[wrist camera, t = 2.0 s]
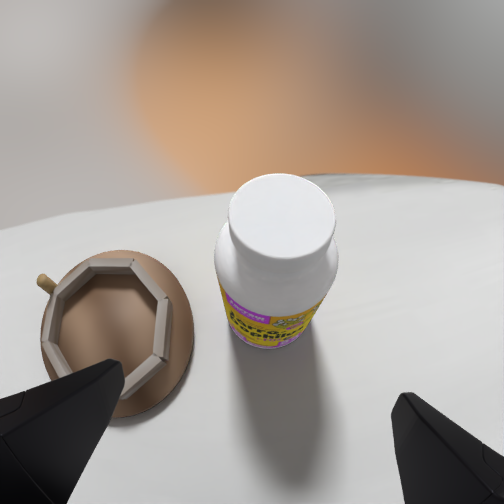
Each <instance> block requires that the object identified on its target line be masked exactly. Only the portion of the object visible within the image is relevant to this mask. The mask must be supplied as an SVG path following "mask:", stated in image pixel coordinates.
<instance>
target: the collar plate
mask: <svg viewBox="0 0 504 504" xmlns="http://www.w3.org/2000/svg"><path fill="white" fill-rule="evenodd" d="M37 285H38V286H39V287H41V288H42V289H43V290H45V291H46V292H47V293H48V294H50V299H49V301H48V303H47V306H46V308H45V311H44V315H43V319H42V325H41V339H40V341H41V351H42V357H43V361H44V364H45V367H46V370H47V372H48V374H49V377H50V379H51V380H52V381H53V380H55V379H58V378H61V377H63V376H66V375H68V374H71V373H74V372H76V371H79V370H81V369H84V368H86V367H89V366H91V365H94V364H96V363H99V362H101V361H104V360H106V359H109V358H112V359H115V360H119V361H120V362H121V363H122V367H123V372H124V377H125V385H124V388H123V391H122V393H121V395H120V398H119V400H118V403H117V405H116V408H115V410H114V413H113V415H112V417H127V416H133V415H136V414H139V413H142V412H145V411H147V410H148V409H150V408H152V407H154V406H155V405H157V404H158V403H159V402H161V401H162V400H163V399H165V398H166V397H167V396H168V395H169V394H170V392H171V391H172V390H173V389H174V388H175V386H176V385H177V384H178V382H179V381H180V379H181V377H182V375H183V374H184V372H185V370H186V367H187V365H188V362H189V360H190V356H191V352H192V347H193V339H194V323H193V316H192V311H191V307H190V304H189V301H188V299H187V296H186V294H185V292H184V290H183V288H182V286H181V285H180V283H179V281H178V280H177V278H176V277H175V276H174V275H173V273H172V272H171V271H170V270H169V269H168V268H167V267H166V266H164V265H163V264H162V263H160V262H159V261H157V260H156V259H154V258H152V257H150V256H148V255H145V254H143V253H140V252H135V251H129V250H115V251H108V252H103V253H100V254H97V255H94V256H92V257H90V258H88V259H86V260H84V261H83V262H81V263H79V264H78V265H77V266H75V267H74V268H73V269H72V270H70V271H69V272H68V273H67V274H66V275H65V276H64V277H63V279H62V280H61V281H60V282H59V284H58V285H57V284H56V283H54V282H53V281H52V280H51V279H50V278H49V277H47V276H46V275H45V274H41V275H39V276H38V278H37Z"/></svg>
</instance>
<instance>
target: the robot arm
mask: <svg viewBox="0 0 504 504" xmlns="http://www.w3.org/2000/svg"><path fill="white" fill-rule="evenodd" d="M124 385H125V377H124V372H123V367H122V363H121V362H120V361H119V360H115V359H112V358H109V359H106V360H104V361H101V362H99V363H96V364H94V365H91V366H89V367H86V368H84V369H81V370H79V371H76V372H74V373H71V374H68V375H66V376H63V377H61V378H58V379H55V380H53V381H50V382H47V383H45V384H42V385H39V386H37V387H34V388H31V389H29V390H26V392H25V391H23V392H20V393H17V394H14V395H11V396H8V397H5V398H2V399H0V504H67V502H68V500H69V498H70V496H71V494H72V492H73V490H74V488H75V486H76V484H77V482H78V480H79V478H80V476H81V474H82V472H83V470H84V468H85V467H86V465H87V463H88V461H89V459H90V457H91V455H92V453H93V452H94V450H95V448H96V446H97V444H98V442H99V440H100V439H101V437H102V435H103V433H104V431H105V429H106V428H107V426H108V424H109V422H110V420H111V417H112V415H113V413H114V410H115V408H116V405H117V403H118V400H119V398H120V395H121V393H122V391H123V388H124ZM391 420H392V428H393V437H394V447H395V455H396V460H397V465H398V469H399V474H400V479H401V485H402V490H403V496H404V501H405V504H504V457H503V456H502V455H500V454H499V453H497V452H496V451H494V450H492V449H491V448H490V447H488V446H487V445H485V444H482V442H481V441H480V440H478V439H477V438H475V437H474V436H473V435H471V434H470V433H468V432H467V431H466V430H464V429H463V428H461V427H460V426H459V425H457V424H456V423H454V422H453V421H452V420H450V419H449V418H447V417H446V416H445V415H443V414H442V413H440V412H439V411H438V410H436V409H435V408H434V407H432V406H431V405H429V404H428V403H427V402H425V401H424V400H423V399H421V398H420V397H418V396H417V395H416V394H414V393H413V392H405V393H401V394H400V395H399V397H398V399H397V401H396V403H395V406H394V408H393V410H392V413H391Z"/></svg>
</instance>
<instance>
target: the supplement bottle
mask: <svg viewBox="0 0 504 504" xmlns="http://www.w3.org/2000/svg"><path fill="white" fill-rule="evenodd" d="M335 226H336V215H335V210H334V207H333V204H332V202H331V201H330V199H329V197H328V196H327V195H326V194H325V192H324V191H323V190H322V189H320V188H319V187H318V186H317V185H315V184H314V183H312V182H310V181H308V180H306V179H304V178H301V177H298V176H295V175H290V174H268V175H263V176H260V177H257V178H254V179H252V180H251V181H249V182H247V183H245V184H244V185H243V186H242V187H241V188H240V189H238V191H237V192H236V193H235V195H234V196H233V198H232V200H231V202H230V205H229V210H228V221H227V222H226V223H225V224H224V226H223V227H222V229H221V231H220V233H219V235H218V237H217V240H216V245H215V250H214V263H215V269H216V274H217V278H218V282H219V286H220V290H221V294H222V298H223V302H224V307H225V311H226V315H227V318H228V321H229V324H230V326H231V328H232V330H233V331H234V332H235V334H236V335H237V336H238V337H239V338H240V339H241V340H243V341H244V342H246V343H247V344H249V345H252V346H254V347H258V348H263V349H274V348H279V347H283V346H285V345H287V344H289V343H291V342H293V341H294V340H296V339H297V338H298V337H299V336H300V335H301V334H302V332H303V331H304V330H305V328H306V327H307V325H308V324H309V322H310V320H311V319H312V317H313V316H314V314H315V312H316V311H317V309H318V307H319V306H320V304H321V303H322V301H323V299H324V298H325V296H326V295H327V293H328V291H329V289H330V288H331V286H332V284H333V282H334V279H335V277H336V273H337V269H338V249H337V245H336V241H335V239H334V236H333V234H334V231H335Z"/></svg>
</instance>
